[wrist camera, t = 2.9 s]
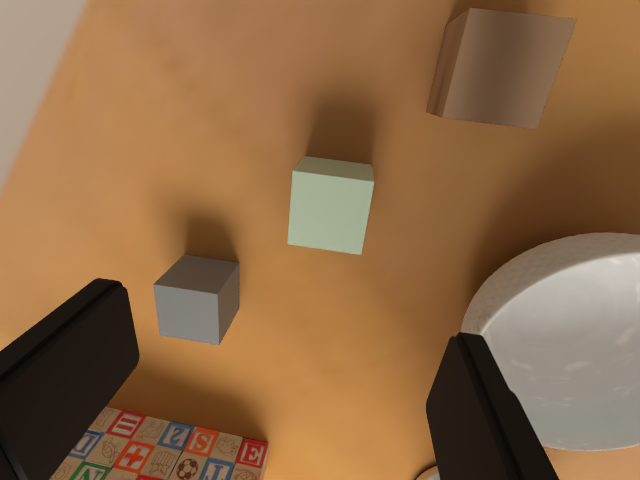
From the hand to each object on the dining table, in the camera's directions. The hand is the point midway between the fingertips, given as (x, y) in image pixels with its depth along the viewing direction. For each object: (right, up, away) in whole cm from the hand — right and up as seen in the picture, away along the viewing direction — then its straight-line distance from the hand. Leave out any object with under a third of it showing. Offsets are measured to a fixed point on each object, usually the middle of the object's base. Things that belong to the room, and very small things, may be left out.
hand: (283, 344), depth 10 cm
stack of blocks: (-16, -21, +31) cm, 41 cm away
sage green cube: (+2, +7, +16) cm, 17 cm away
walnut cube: (+11, +14, +12) cm, 21 cm away
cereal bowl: (+20, -2, +18) cm, 27 cm away
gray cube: (-9, -1, +21) cm, 23 cm away
